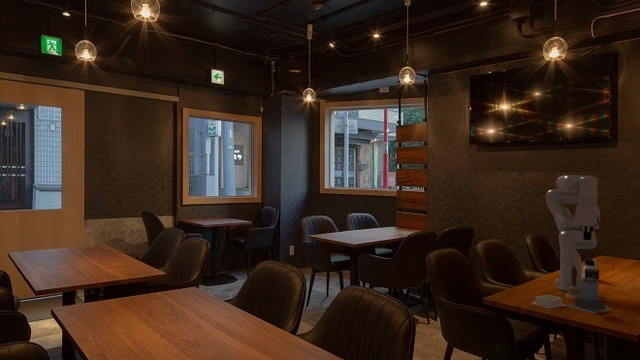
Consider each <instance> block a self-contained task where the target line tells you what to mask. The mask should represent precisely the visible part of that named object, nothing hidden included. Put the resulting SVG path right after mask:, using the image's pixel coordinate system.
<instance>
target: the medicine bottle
mask: <svg viewBox="0 0 640 360" xmlns="http://www.w3.org/2000/svg"><path fill="white" fill-rule="evenodd" d="M597 263H598V260H596V259H593V258H586V259H584V265H583V266H582V280H583V279H584V278H593V279H596V282H599V281H600V269H599V268H598V266H597V265H598V264H597Z"/></svg>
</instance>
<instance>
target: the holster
mask: <svg viewBox="0 0 640 360" xmlns="http://www.w3.org/2000/svg"><path fill="white" fill-rule="evenodd" d="M534 299H535V301H531V302H530V303H531V304H533V305H536V306H539V307H543V308H545V309H553V308H555V309H556V308H562V307H568V304H567V305H566V304H564V303H563V300H564V299H563V297H562V298H561V297H559V296H556V295H555V296H554V295H551V294H547V295H538V296H535V297H534Z"/></svg>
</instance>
